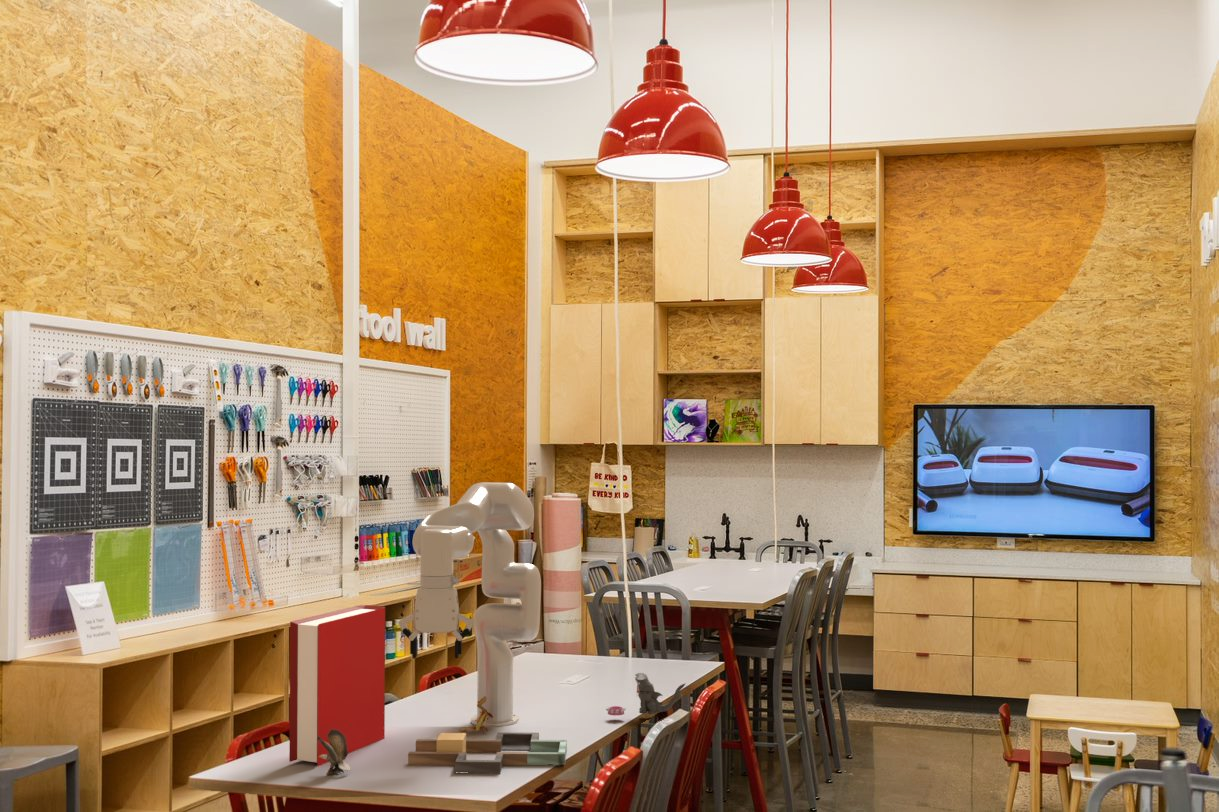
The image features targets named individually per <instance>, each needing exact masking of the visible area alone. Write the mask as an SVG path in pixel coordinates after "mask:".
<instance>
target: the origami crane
mask: <svg viewBox="0 0 1219 812" xmlns="http://www.w3.org/2000/svg"><path fill="white" fill-rule="evenodd" d="M486 701H487V698H486V696H484V698H482V699H481V700H480V701H478V704H476V707H479V708H480V709H481V710H482V712H481V711H480V713H481V714H480V717H479V718H478V720H477V725H475V726H470V727H468V726H466V727H464V728H460V729H459V730H458V731H459V733H466V732H473V731H476V732H478V731H480V730H481V731H483V732H487V731H488V728H486V726H481V725H482V724H483V723H484V722H485V720H486V719H487V720H488V719H489V718H490V717H491V718H493V716H492V714H491V713H490V712H487V710H486V709H485V708H484V707H482V704H483V703H485V702H486ZM487 717H488V718H487Z"/></svg>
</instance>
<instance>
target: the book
mask: <svg viewBox="0 0 1219 812" xmlns="http://www.w3.org/2000/svg"><path fill="white" fill-rule="evenodd" d="M289 622H290V623H289V627H290V628H289V629H290V630H289V640H290V641H289V642H290V643H289V754H288V755H289V757H288V758H289V760H288V761H289V762H290V763H291V762H295V761H302V762H303V761H305V762H310V763H316V764H317V766H318V767H319V766H322V765H324V764H327V763H330V762H329V761H327V760H325V759H323V758H319V756H321V755H323V754H324V755H328V751H327V750H326V748H325V747H324V746H323V744H322V743H321V742H320V741H319V740H318V737H320V738H321V739H322V740H323V741H325V742H327V743H328V744H330V742H329V739H328V733H329V732H330V731H331V729H333V730H335V729H336V730H338V731H340V732H341V733H342V734H343V735H344V736H345V738H346V743H347V750H348V754H350V753H353V752H355V751H358V750H360V749H362V748H365V747H367V746H370V745H373V744H374V743H377V742H379V741H382V740H385V733H386V732H385V727H386V726H385V722H386V719H385V717H386V716H385V715H386V714H385V713H386V711H385V709H386V707H385V703H386V702H385V701H386V699H385V697H386V692H385V688H386V679H385V678H386V606H384V605H383V606H379V605H371V604H369V605H368V604H364V605H361V604H360V605H356V606H355V605H354V606H350V607H347V608H346V607H345V608H343V609H338V610H333V611H331V612H330V611H329V612H325V613H321V614H317V615H312V616H308V617H303V618H300V619H295V620H291V621H289Z"/></svg>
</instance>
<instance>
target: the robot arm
mask: <svg viewBox="0 0 1219 812" xmlns="http://www.w3.org/2000/svg"><path fill="white" fill-rule="evenodd" d="M533 505H534V504H533V503H532V501H531V499H530V498H529V497H528V496H527V494H526V493H525V492H524V491H523V490H522V489H521V488H520V486H518V485H516V484H514V483H512V482H492V481H491V482H486V481H485V482H484V481H482V482H477V483H474V484H472V485H471V486H470V487H469V488H467V490H466V492H465V493H464V494H463V495H462V496H461V498H460V499H459V500H457V503H456V504H452V505H450V506H447V507H444V508H442V509H439V510H436V511H434V512H432V513H430V514H429V515H427V516H425V517H424V518H423V520H422V521H420V523H419V524H418V526H417V527H416V529H415V531H414V533H413V536H412V547H413V548H412V549H413V551H414V553H415V554H416V555H418V556H420V570H419V571H420V573H419V575H420V577H419V578H420V582H419V585H420V587H418V588H417V589H416V595H415V599H414V600H415V601H414V612H413V613H411V614H410V615H408V616H405V617H404V618H401V619H399V620H398V622H397V623H398V625H399V627H400V629H401V631H402V634H403V635H405V636H406V638H407V639H408V640H409V646H410V647H409V654H410V655H412V659H416V658H417V657H418V656H419V655H418V650H419V649H418V648H419V647H418V644H419V643H418V642H419V640H418V639H417V636H418V635H419V634H420V633H421V634H423V633H424V634H430V633H432V634H436V633H437V634H439V633H440V634H441V633H442V634H444V633H445V634H446V633H447V634H449V633H450V634H452V635H453V636H454V637H455V641H454V659H459V657H460V655H462V653H463V648H462V647H463V639H464V638H465V637H466V636H467V635H469V633H470V632H471V630H472V627H473V626H474V631H475V637H476V638H475V639H476V647H477V649H476V650H477V654H476V655H477V657H476V658H477V674H476V675H477V694H476V697H477V700H476V701H477V702H476V703H477V704H478V701H480V700H481V699H482V698H484V696H486V698H487V701H486V702H485V703H483V704H482V707H484V708H485V709H486V710H487V712H490V713H491V714H492V716H493V718H491V717H490V718H489V719H488V720H487V719H486V720H485V722H484V723H483V724H482V725H481V727H482V726H483V727H484V726H485V727H486V728H487V727H489V728H490V727H491V728H492V727H493V728H494V727H497V728H498V727H506V726H507V725H508V726H512V724H513V725H515V723H516V724H518V723H519V722H518V721H520V717H519V716H518V715H516V714H514V654H513V652H512V650H511V648H510V646H509V644H508V643H507V641H518V642H520V641H522V642H530V641H533V640H536V638H537V636H538V635H539V633H540V632H539V631H540V623H541V602H542V601H541V597H542V595H541V594H542V579H541V574H540V571H539V568H538V567H537V566H536V565H535V564H532V563H528V562H527V563H525V562H515V542H514V540H513V538H512V536H511V535H510V534H509V532H508V531H524V530H528V529H529V528H530V527H531V526H532V525H533V522H534V519H535V510H534V509H535V508H534V506H533ZM475 532H477V533H478V535H479V538H480V540H481V544H482V559H481V560H482V563H481V564H482V566H481V590H482V591H481V592H482V593H483V594H484V596H486V597H488V598H493V599H509V600H510V599H511V600H512V599H513V600H520V602H521V603H519V604H518V603H516V604H515V603H501V602H500V603H499V602H497V603H495V602H494V603H493V602H492V603H485V604H482V605H480V606H479V607H477V609H476V610H475V612H474V616H473V619H472V618H470V617H467V616H466V615H465V614H462V613H460V607H459V595H458V590H457V588H456V587H454V586H455V585H457V584H458V585H459V584H460V578H459V577H456V576H454V559H463V558H465V557H468V555H470V553H471V552H472V551H473V548H474V544H475V538H474V535H473V533H475ZM412 621H413V629H414V630H413V632H412V631H411V630H410V629H409V628H408V626H407V624H408V623H409V622H412ZM460 621H461V623H464V624H465V625H466V627H465V628H464V629H463V630H462V632H461V630H460V629H459V626H460ZM477 704H476V705H477ZM476 707H477V706H476ZM480 711H481V712H482V710H481V709H480V708H479V707H477V713H476V715H474V716H472V717H471V718H470V719H471V724H472V725H473V726H474V725H475V726H477V720H478V718H479V717H480V714H481V713H480ZM487 718H488V717H487ZM517 722H518V723H517Z"/></svg>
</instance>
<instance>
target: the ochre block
mask: <svg viewBox="0 0 1219 812" xmlns="http://www.w3.org/2000/svg"><path fill="white" fill-rule="evenodd" d="M436 739H437V752H466V740H467V733H466V732H440V733H439V734H438V736H437V738H436ZM466 753H467V752H466Z"/></svg>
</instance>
